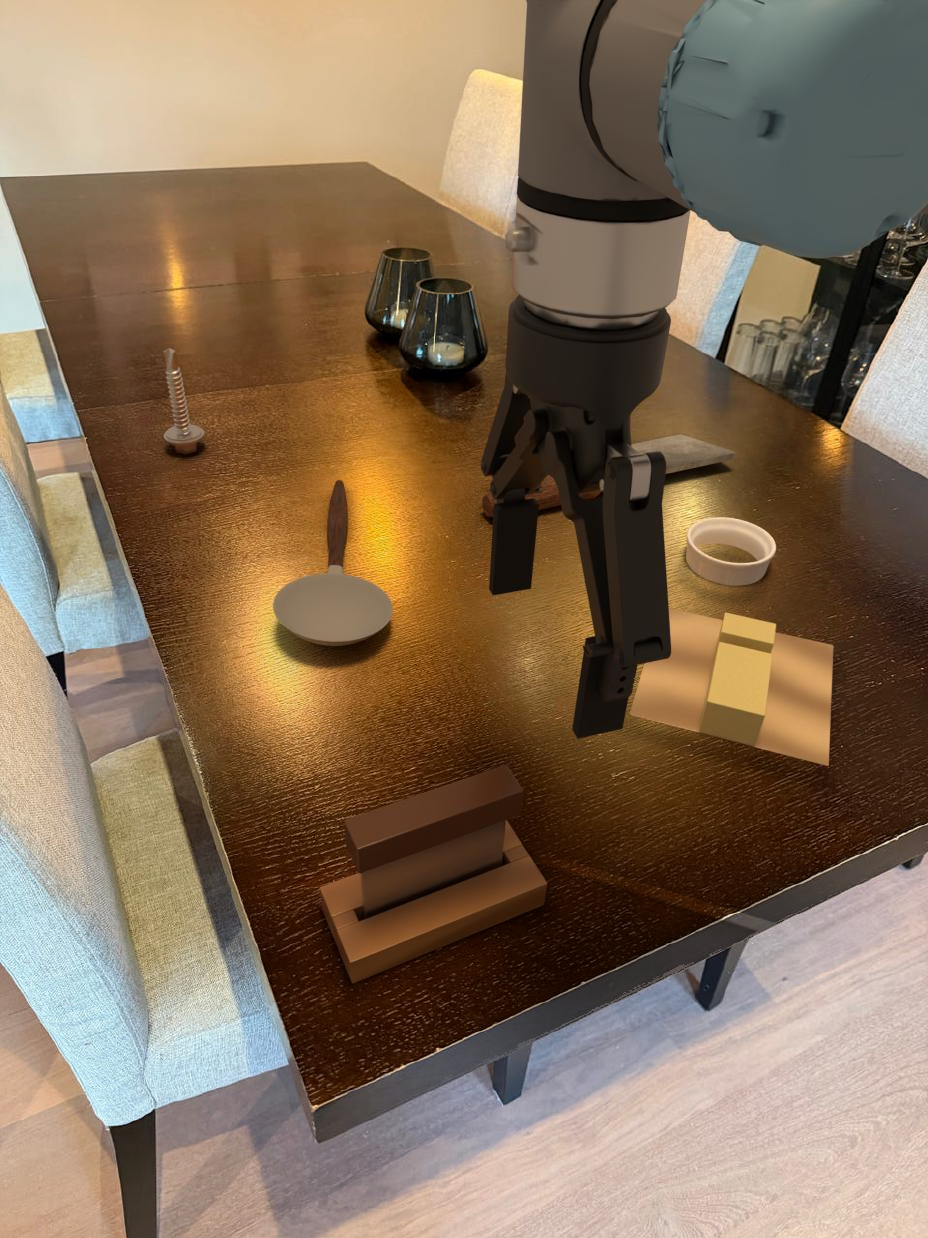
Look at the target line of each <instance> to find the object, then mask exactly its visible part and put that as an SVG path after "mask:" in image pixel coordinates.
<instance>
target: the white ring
mask: <svg viewBox="0 0 928 1238" xmlns="http://www.w3.org/2000/svg"><path fill="white" fill-rule="evenodd" d="M708 545H726V546H731V547H735V548H738V549H740V550H743V551H745V552H747V553H748V554H750V555H752V556H753V557H754V558H755V560H756V561H751V562H731V561H726V560H721V559H717V558H714V557H712V556H711V555H708V554H706V553H705V552H703V551H701V549H700V548H701V547H703V546H708ZM776 551H777V544H776V541H775V539H774V538H773V537H772V535H771V534H770V533H769V532H768V531H766V530H765V529H763V528H762V527H760V526H758V525H756V524H754V523H752V522H749V521H746V520H743V519H739V518H733V517H724V516H723V517H722V516H717V517H715V516H714V517H708V518H704V519H700V520H698V521H696V522H693V524H691V525H690V526H689V528H688V529H687V531H686V551H685V552H686V553H685V554H686V555H685V560H686V563H687V565H688V567H689V568H690V569H691V570H692V571H693V572H694V573H695V574H697V575H698V576H700V577H701V578H703V579H705V580H707V581H710V582H712V583H716V584H717V585H718V584H719V585H723V586H730V587H731V586H735V587H738V586H739V587H741V586H748V585H752V584H755V583H757V582H759V581H760V580H762V579H763V577H764V576H765V574H766V573H767V570H768V567H769V565H770V562H771V560H772V559H773V558H774V556H775V554H776Z"/></svg>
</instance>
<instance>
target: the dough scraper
mask: <svg viewBox="0 0 928 1238" xmlns="http://www.w3.org/2000/svg"><path fill="white" fill-rule="evenodd" d="M523 799H524V789H523V787H522V786H521V784H520V783H519V781H518V780H517V778H516V777H515V776H514V774H513V772H512V770H511V769H510V768H509V767H508V765H507V764H503V765H501V766H498V767H495V768H491V769H489V770H486V771H484V772H480V773H477V774H474V775H472V776H469V777H465V778H463V779H460V780H457V781H454V782H451V783H449V784H445V785H442V786H439V787H437V788H433V789H431V790H430V789H429V790H427V791H425V792H422V793H419V794H416V795H414V796H410V797H408V798H404V799H401V800H398V801H396V802H392V803H390V804H387V805H384V806H381V807H377V808H375V809H372V810H369V811H366V812H363V813H360V814H357V815H353V816H351V817H349V818H345V819H344V821H343V824H344V837H345V846H346V848H347V851H348V852H349V855H350V857H351V859H352V862H353V864H354V866H355V868H356V870H357V873H359V874H360V878H361V893H362V909H363V920H365V919H367V918H370V917H372V916H375V915H377V914H380V913H383V912H385V911H388V910H390V909H393V908H396V907H398V906H401V905H403V904H406V903H408V902H411V901H414V900H416V899H419V898H421V897H424V896H427V895H429V894H432V893H434V892H437V891H439V890H442V889H445V888H447V887H450V886H452V885H455V884H457V883H460V882H463V881H465V880H468V879H470V878H473V877H476V876H478V875H481V874H483V873H486V872H488V871H491V870H494V869H496V868H499V867H501V866H502V856H503V846H504V835H505V825H506V820H507V821H508V820H511V819H513V818H516V817H519V816H521V815H522V809H523V808H522V807H523Z"/></svg>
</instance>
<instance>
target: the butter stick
mask: <svg viewBox="0 0 928 1238" xmlns="http://www.w3.org/2000/svg"><path fill="white" fill-rule="evenodd" d="M771 664H772V654H770V653H766V652H762V651H757V650H753V649H749V648H745V647H740V646H736V645H732V644H727V643H723V642H719V644H718V648H717V651H716V655H715V659H714V662H713V666H712V670H711V674H710V679H709V684H708V689H707V694H706V699H705V703H704V708H703V713H702V718H701V723H700V728H699V732H702V733H705V734H704V735H706V734H709V735H708V736H710V735H713V736H712V737H714V736H717V737H716V738H718V737H721V738H720V739H722V738H725V739H729V740H732V741H731V742H733V741H736V742H735V743H737V742H740V743H739V744H741V743H744V744H743V745H745V744H748V745H747V746H749V745H752V746H755V744H756V741H757V738H758V735H759V732H760V729H761V726H762V723H763V720H764V717H765V712H766V704H767V696H768V688H769V680H770V672H771ZM702 733H701V734H702ZM725 739H724V740H725ZM729 740H728V741H729ZM752 746H751V747H752Z"/></svg>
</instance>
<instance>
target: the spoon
mask: <svg viewBox="0 0 928 1238" xmlns="http://www.w3.org/2000/svg"><path fill="white" fill-rule="evenodd" d="M347 500H348V499H347V494H346V488H345V484H344V482H343V480H341V479H337V480H336V481H335V483H334V485H333V489H332V493H331V495H330V501H329V505H328V512H327V521H326V522H327V527H326V533H327V534H326V535H327V537H326V538H327V545H328V562H327V571H326V572H327V573H324V572H323V573H316V574H315V573H314V574H310V575H306V576H302V577H299V578H296V579H294V580H292V581H290V582H288V583H287V584H285V585H284V586H282V588H280V589H279V590H278V591H277V593H276V594H275V596H274V598H273V602H272V610H273V613H274V616H275V618H276V619H277V621H278V623H280V624H281V626H283V627H284V629H286V630H287V631H289V632H290V633H291V634H293V635H294V636H296V637H298V638H300V639H302V640H304V641H307V642H308V643H313V644H316V645H321V646H326V647H342V646H348V645H353V644H357V643H360V642H363V641H366V640H367V639H369V638H371V637H373V636H374V635H376V634H378V633H379V632H380V631H381V630H383V629H384V628H385V627H386V626H387V625H388V623H389V622H390V621H391V618H392V616H393V612H394V608H393V607H394V606H393V602H392V600H391V598H390V596H389V595H388V594H387V592H386V591H385V590H384V589H382V588H381V587H380V586H378V585H377V584H375V583H373V582H371V581H369V580H367V579H365V578H362V577H360V576H355V575H350V574H346V573H345V574H344V554H345V553H344V552H345V547H346V543H347V535H348V525H349V523H348V522H349V521H348V520H349V515H348V511H349V510H348V501H347Z"/></svg>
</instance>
